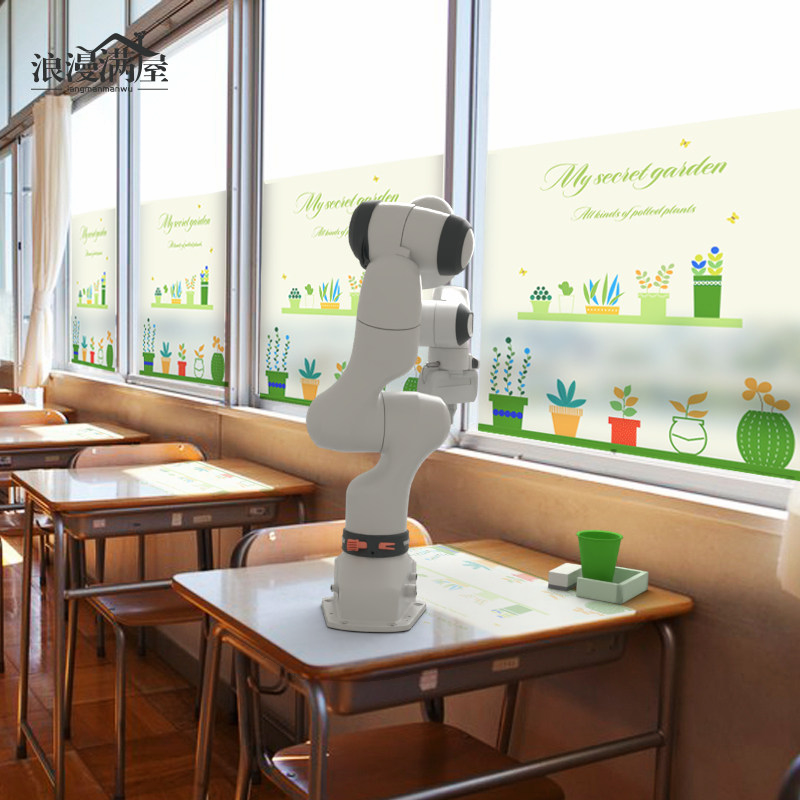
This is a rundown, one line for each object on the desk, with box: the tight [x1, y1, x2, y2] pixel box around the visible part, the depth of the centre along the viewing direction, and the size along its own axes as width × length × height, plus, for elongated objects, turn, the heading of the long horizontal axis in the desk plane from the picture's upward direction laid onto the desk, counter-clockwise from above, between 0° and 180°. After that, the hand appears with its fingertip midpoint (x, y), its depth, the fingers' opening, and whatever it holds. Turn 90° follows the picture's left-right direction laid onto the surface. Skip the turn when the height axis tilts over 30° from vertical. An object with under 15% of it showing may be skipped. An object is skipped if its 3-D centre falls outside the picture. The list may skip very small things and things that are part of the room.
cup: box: [576, 529, 624, 583], centre depth 204 cm, size 9×9×11 cm
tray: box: [575, 566, 649, 605], centre depth 203 cm, size 14×9×4 cm, turn 146°
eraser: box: [547, 562, 583, 592], centre depth 208 cm, size 9×4×4 cm, turn 149°
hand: (446, 424), depth 227 cm, fingers closed
